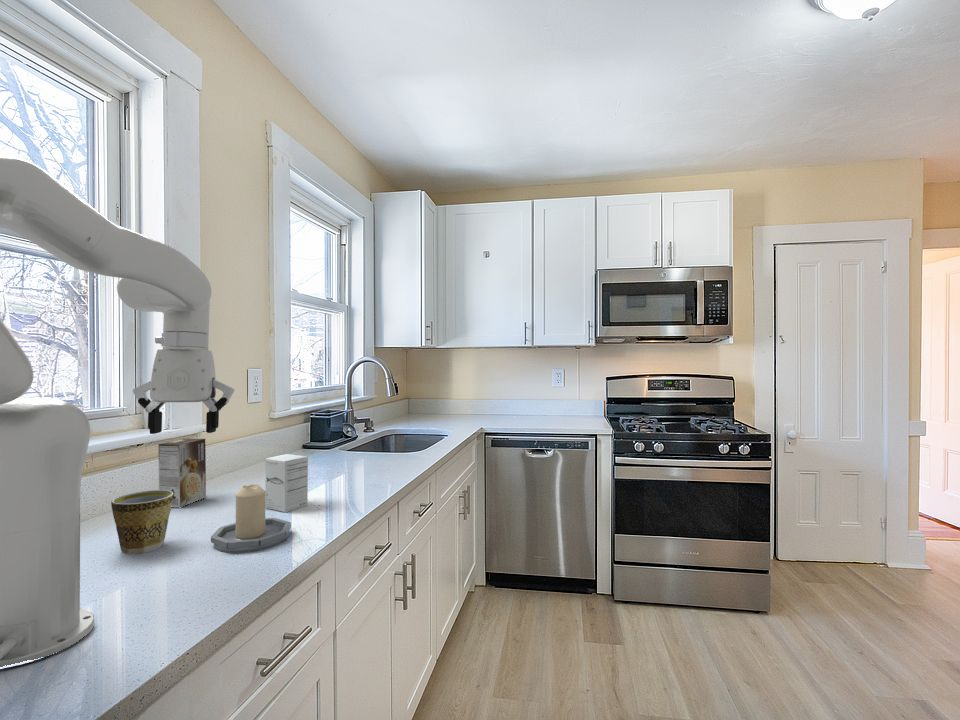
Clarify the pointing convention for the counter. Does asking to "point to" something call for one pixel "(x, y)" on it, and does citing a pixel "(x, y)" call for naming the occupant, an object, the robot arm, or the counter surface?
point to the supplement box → (286, 482)
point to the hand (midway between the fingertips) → (183, 432)
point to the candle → (250, 512)
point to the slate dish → (273, 535)
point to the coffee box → (183, 470)
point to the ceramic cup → (142, 519)
